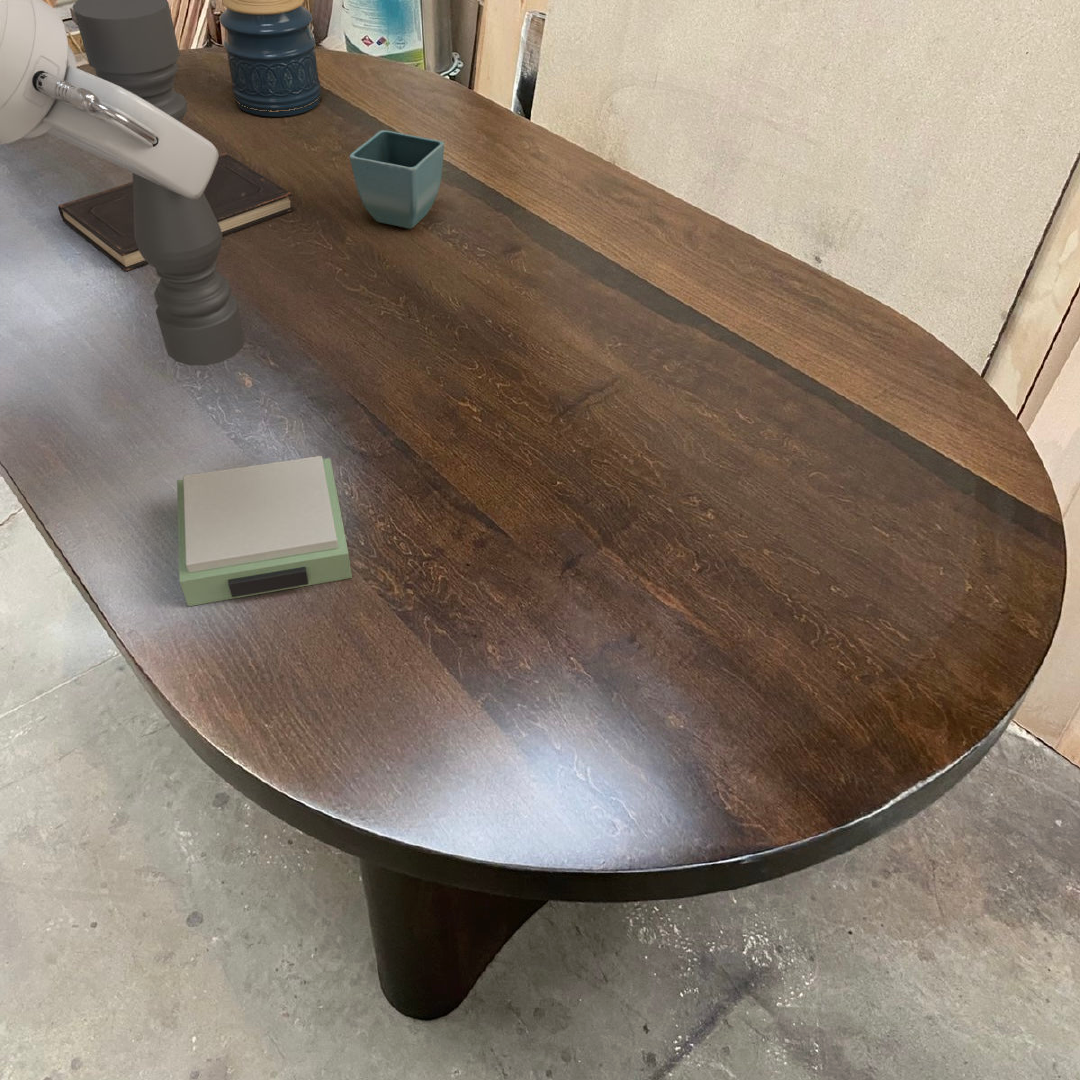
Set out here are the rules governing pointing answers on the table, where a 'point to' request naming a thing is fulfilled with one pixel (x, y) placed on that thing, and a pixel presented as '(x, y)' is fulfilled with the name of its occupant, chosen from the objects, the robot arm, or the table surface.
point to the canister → (271, 56)
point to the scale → (259, 530)
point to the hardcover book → (228, 192)
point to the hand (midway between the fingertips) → (169, 167)
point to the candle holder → (160, 214)
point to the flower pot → (398, 176)
